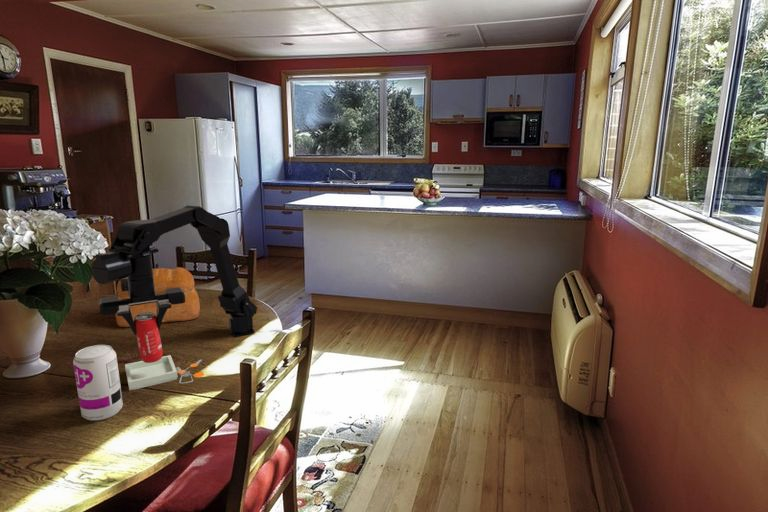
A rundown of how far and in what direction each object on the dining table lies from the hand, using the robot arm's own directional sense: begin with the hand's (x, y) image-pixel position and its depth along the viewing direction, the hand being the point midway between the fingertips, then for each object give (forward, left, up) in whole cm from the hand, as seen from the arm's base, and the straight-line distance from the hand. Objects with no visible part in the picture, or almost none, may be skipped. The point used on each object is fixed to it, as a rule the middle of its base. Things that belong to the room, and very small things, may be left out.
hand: (146, 332), depth 120 cm
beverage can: (-1, -1, -8) cm, 8 cm away
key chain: (-9, 0, -14) cm, 16 cm away
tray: (0, -2, -13) cm, 13 cm away
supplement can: (+11, +11, -13) cm, 21 cm away
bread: (-8, -47, -13) cm, 49 cm away
